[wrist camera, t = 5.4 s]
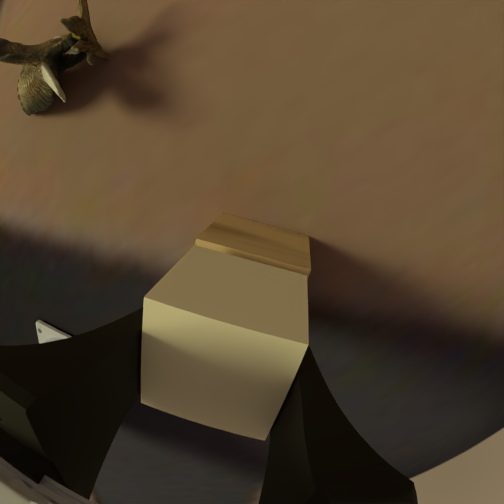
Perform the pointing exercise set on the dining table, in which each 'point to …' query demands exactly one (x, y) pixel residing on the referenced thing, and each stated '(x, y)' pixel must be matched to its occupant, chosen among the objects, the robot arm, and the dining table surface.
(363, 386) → the dining table surface
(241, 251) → the oak base block
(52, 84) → the eagle figurine
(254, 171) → the dining table surface
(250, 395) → the cream block
